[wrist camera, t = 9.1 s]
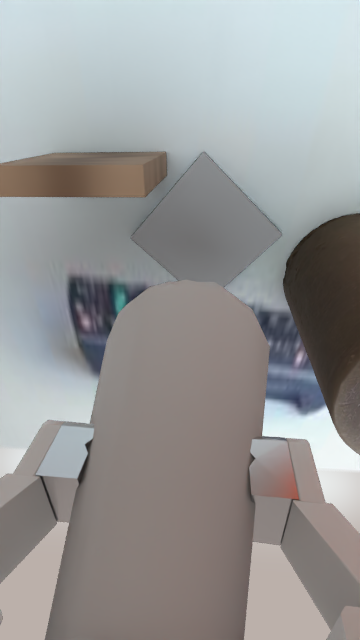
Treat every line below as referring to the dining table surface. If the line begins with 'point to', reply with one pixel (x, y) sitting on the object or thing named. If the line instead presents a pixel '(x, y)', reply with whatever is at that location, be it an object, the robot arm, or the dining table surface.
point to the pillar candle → (331, 316)
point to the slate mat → (206, 227)
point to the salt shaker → (167, 474)
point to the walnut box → (84, 175)
